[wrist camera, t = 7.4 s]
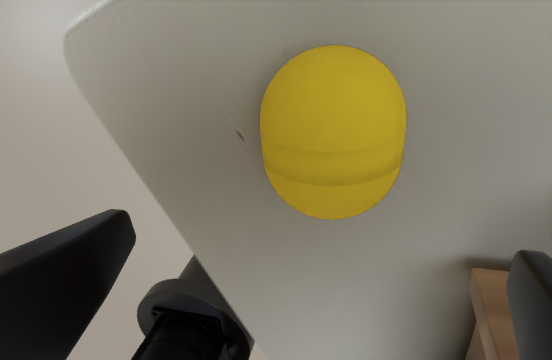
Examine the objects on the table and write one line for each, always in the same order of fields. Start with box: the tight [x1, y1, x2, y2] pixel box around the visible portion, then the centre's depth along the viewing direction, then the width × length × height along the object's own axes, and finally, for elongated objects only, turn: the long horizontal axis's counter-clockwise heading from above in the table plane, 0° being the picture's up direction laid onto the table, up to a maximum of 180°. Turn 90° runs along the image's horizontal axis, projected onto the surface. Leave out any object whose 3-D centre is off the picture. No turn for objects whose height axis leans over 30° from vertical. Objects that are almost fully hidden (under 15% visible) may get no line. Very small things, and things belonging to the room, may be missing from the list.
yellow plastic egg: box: [260, 45, 407, 220], centre depth 13 cm, size 6×5×5 cm
